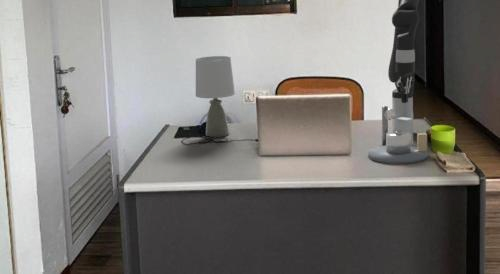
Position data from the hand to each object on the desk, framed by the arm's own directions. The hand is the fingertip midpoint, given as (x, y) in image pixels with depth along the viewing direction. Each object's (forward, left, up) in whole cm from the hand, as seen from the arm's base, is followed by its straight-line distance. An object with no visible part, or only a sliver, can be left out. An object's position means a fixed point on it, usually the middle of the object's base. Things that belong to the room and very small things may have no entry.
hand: (404, 102), depth 310 cm
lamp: (+13, -94, -22) cm, 98 cm away
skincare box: (-13, -7, -22) cm, 27 cm away
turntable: (+5, 0, -22) cm, 22 cm away
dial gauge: (-3, -10, -22) cm, 24 cm away
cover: (+5, 0, -20) cm, 20 cm away
